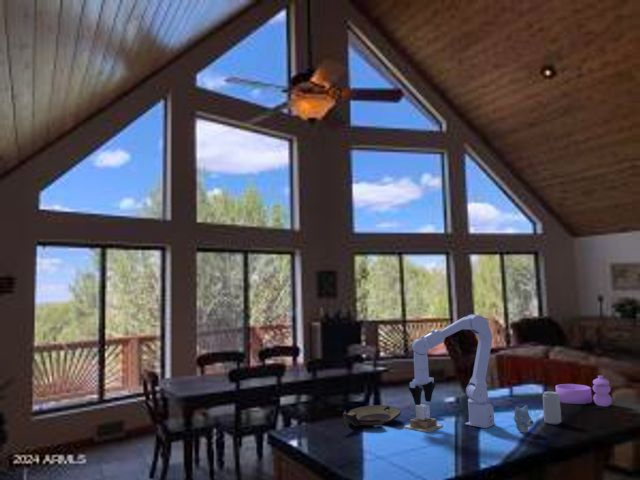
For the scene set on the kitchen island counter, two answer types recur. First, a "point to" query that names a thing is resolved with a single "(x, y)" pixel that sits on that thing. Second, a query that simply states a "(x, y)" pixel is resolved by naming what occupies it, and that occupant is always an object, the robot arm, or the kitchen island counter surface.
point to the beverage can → (551, 407)
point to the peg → (422, 412)
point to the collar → (423, 425)
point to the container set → (585, 393)
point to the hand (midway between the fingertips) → (423, 403)
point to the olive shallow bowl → (372, 415)
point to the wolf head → (522, 419)
